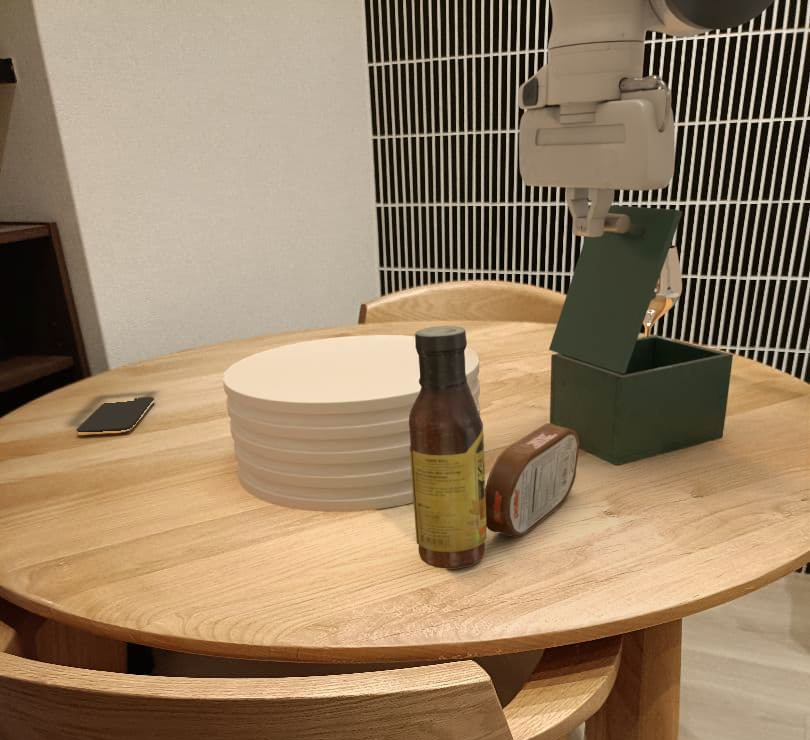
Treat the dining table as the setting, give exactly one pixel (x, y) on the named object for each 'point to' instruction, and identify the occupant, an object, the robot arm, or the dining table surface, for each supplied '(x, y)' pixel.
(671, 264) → the wineglass
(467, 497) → the sauce bottle
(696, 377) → the bin
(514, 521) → the tin
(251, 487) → the plate stack
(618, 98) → the robot arm
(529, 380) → the dining table surface
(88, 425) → the phone
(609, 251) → the bin lid
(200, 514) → the dining table surface
